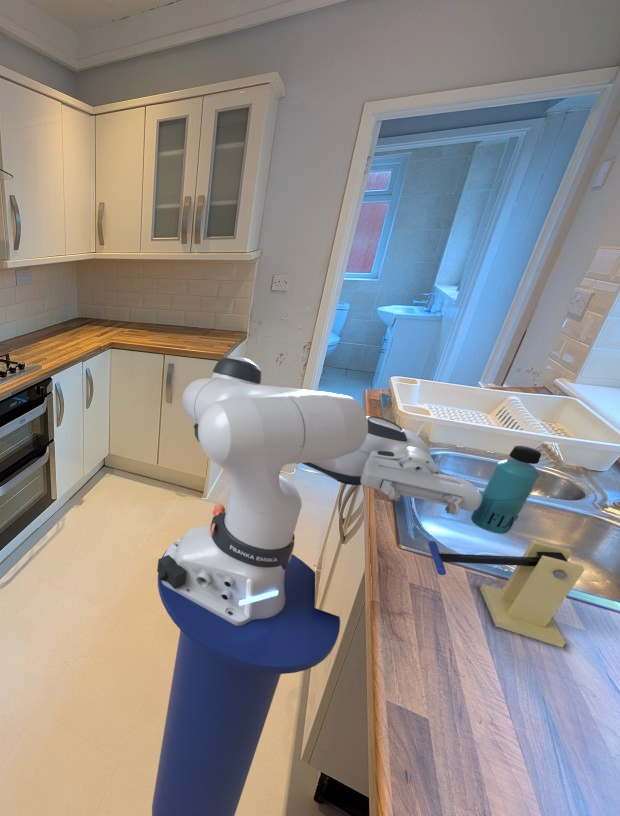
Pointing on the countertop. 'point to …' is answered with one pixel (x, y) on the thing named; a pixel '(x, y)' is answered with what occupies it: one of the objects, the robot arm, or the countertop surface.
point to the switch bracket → (534, 595)
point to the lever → (486, 558)
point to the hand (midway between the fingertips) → (423, 504)
